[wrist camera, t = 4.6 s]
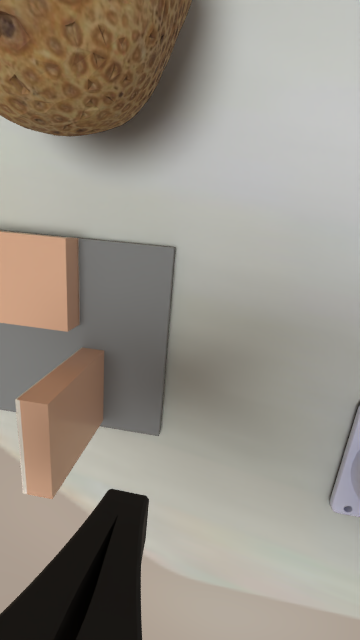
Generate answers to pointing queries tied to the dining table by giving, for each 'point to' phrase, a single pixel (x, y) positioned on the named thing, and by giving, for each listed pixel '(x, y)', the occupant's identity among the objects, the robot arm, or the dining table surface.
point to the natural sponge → (83, 60)
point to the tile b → (59, 420)
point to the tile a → (39, 281)
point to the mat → (105, 333)
